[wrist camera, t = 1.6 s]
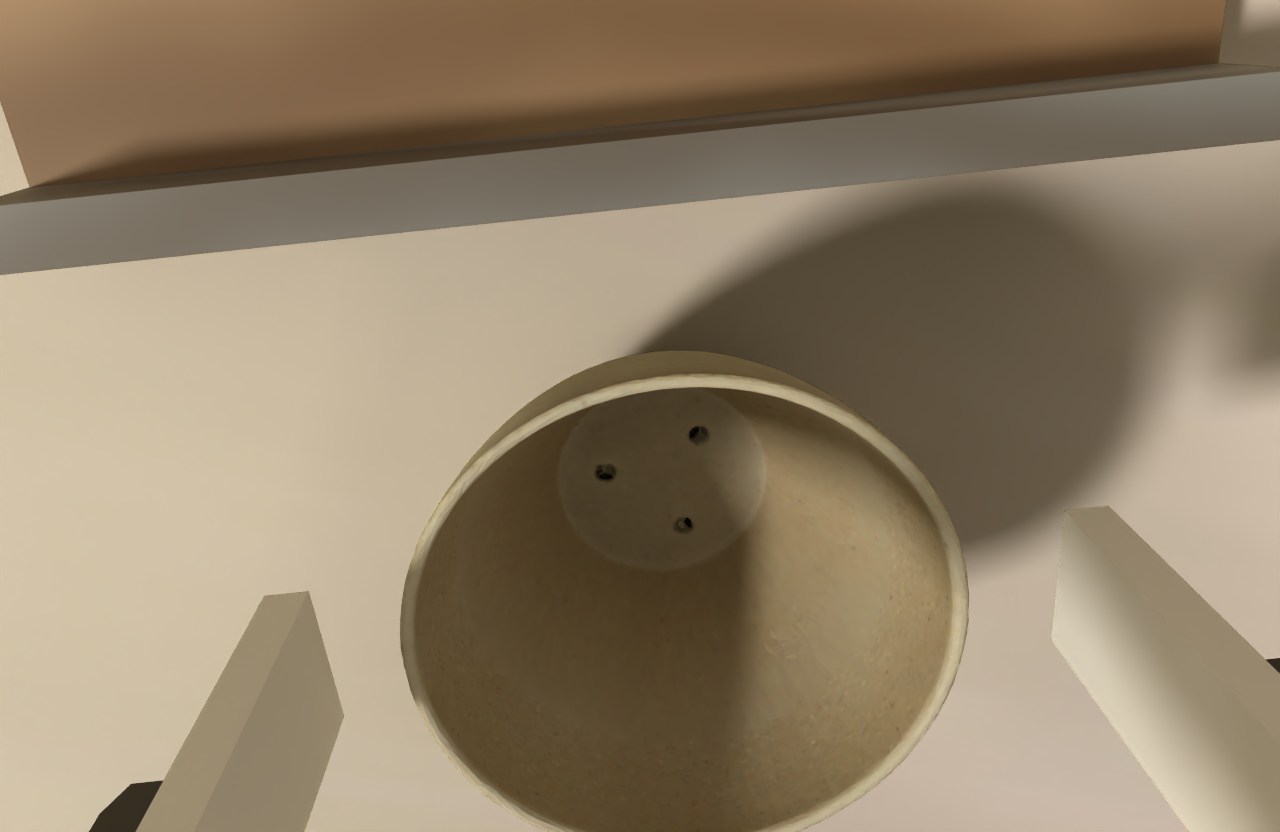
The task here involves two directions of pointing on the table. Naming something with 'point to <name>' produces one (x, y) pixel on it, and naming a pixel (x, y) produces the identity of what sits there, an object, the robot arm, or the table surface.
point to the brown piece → (563, 108)
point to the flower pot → (683, 603)
